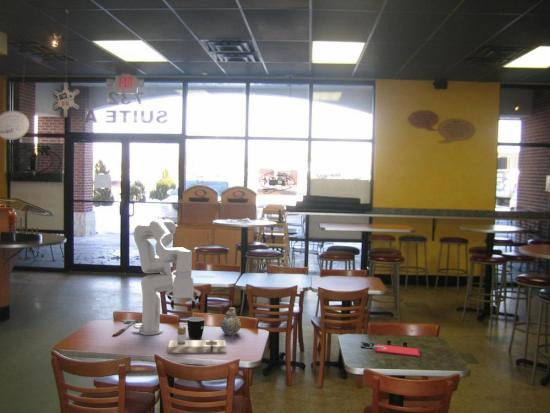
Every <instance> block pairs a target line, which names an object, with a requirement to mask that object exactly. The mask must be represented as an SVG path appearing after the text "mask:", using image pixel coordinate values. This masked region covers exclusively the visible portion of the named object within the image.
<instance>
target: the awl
mask: <svg viewBox="0 0 550 413" xmlns="http://www.w3.org/2000/svg"><path fill="white" fill-rule="evenodd" d="M186 331H187V326H181V325H180V326H178V327H177V339H176V340H177V344H179V345H183V344H185V341H186V340H187V339H186V337H187V336H186V334H187V332H186Z"/></svg>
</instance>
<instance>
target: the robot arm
mask: <svg viewBox="0 0 550 413" xmlns="http://www.w3.org/2000/svg"><path fill="white" fill-rule="evenodd" d="M176 230H177V226H176V223H175V222H174V221H173V220H171V219H154V220H152V221H151V222H150V223H143V224H138V225H136V226H135V228H134V230H133V238H134V242H135V245H136V247H137V250H138V255H139V262H140V267H141V271H142V272H143V273H145V274H148V275H145V276H143V278H141V281H140V285H141V286H140V287H141V294H142V297H141V298H142V299H141V300H142V303H141V304H142V307H141V308H142V309H141V310H142V312H141V315H142V316H141V321H142V322H141V323H139V324H137V323H135V324H133V329H135V330H137V329H138V333H139V334H141V335H145V336H153V335H154V336H155V335H159V334H162V333H163V328H161V327H160V323H161V322H160V320H161V317H160V316H161V299H160V297H159V295H158V294H157V293H158V292H159V293H160V292H165V295H166V297H167V299H169V301H170V307H171V310H174V308H175V299H191V310H194V308H196V307H195V306H196V301H197V299H199V297H200V296H201V294H202V292H201V291H200V290H198V289H197V288H194V285H195V284H194V278H193V276H192V268H193V267H192V266H193V264H192V261H193V258H192V257H193V252H192V250H190V249H187V248H185V247H168V246H169V245H171V244H172V242H173V240H174V236H173V235H175V233H176ZM149 240H155V241H156V243H155V247H154V245H153V244H152V243H151V242H150V241H149ZM172 263H173V264H174V263H176V265H175V271H173V272H172V268H171V264H172ZM154 273H155V274H154ZM156 273H160V274H156ZM149 274H150V275H149ZM173 276H174V278H173ZM171 293H172V296H171V295H170V294H171ZM194 293H196V295H194Z"/></svg>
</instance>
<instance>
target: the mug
mask: <svg viewBox="0 0 550 413" xmlns="http://www.w3.org/2000/svg"><path fill="white" fill-rule="evenodd" d="M186 324H187V333H188V337H189V339H190V340H201V339H202V337H203V334H204V330H205V329H204V328H205V318H204V317H200V316H191V317H189V318H187V323H186Z"/></svg>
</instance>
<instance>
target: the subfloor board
mask: <svg viewBox="0 0 550 413" xmlns="http://www.w3.org/2000/svg"><path fill="white" fill-rule="evenodd" d="M226 343H227V342H226V340H225V339H222V340H221V339H209V340H207V339H204V340H203V339H202V340H201V339H190V340H187V339H186V341H185V344H183V345H179V344H177V339H175V340H173V339H172V340H169V343H168V351H167V352H168V353H169V354H171V353H172V354H173V353H175V354H176V353H177V354H178V353H181V354H182V353H183V354H185V353H188V354H189V353H196V354H197V353H226V352H227V345H226Z"/></svg>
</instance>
